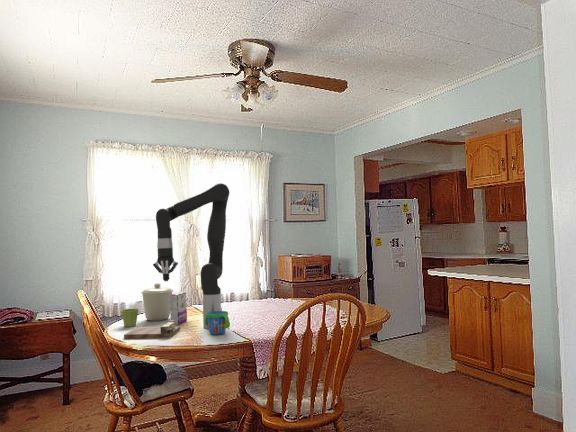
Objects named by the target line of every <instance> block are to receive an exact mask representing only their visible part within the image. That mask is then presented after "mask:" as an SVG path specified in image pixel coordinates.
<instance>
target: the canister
mask: <svg viewBox="0 0 576 432" xmlns="http://www.w3.org/2000/svg"><path fill="white" fill-rule="evenodd" d="M173 292H174V289H172V288H170V287H163V286H162V287H161V283H159V282H155V284H154V287H152V288H151V287H150V288H146V289H143V291H141V294H142V302H143V308H144V309H143V310H144V316H145V319H146V320H147V321H153V322H158V321H164V320H167V319H169V317H171V315H170V295H171V294H173Z"/></svg>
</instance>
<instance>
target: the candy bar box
mask: <svg viewBox="0 0 576 432" xmlns="http://www.w3.org/2000/svg"><path fill="white" fill-rule="evenodd" d="M187 303H188V302H187V291H178V292H175V293H172V294H171V295H170V320H175V326H179V325H180V324H183V323H186V322H187V321H188V313H187V311H188V309H187V307H188V305H187Z"/></svg>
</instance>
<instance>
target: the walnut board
mask: <svg viewBox="0 0 576 432" xmlns="http://www.w3.org/2000/svg"><path fill="white" fill-rule="evenodd" d="M161 327H162V326H152V327H151V326H150V327H149V326H147V327H144V326H143V327H136V328H134V329H132V330H130V331H128V332H126V333H124V334H123V340H134V339H138V340H140V339H170V338H172V337H174V336H175V335H176V334H177V333H179V332H180V331H181V327H180V326H175V328H174V329H173V328H170V329H169V330H168V333H167V334H161Z"/></svg>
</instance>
